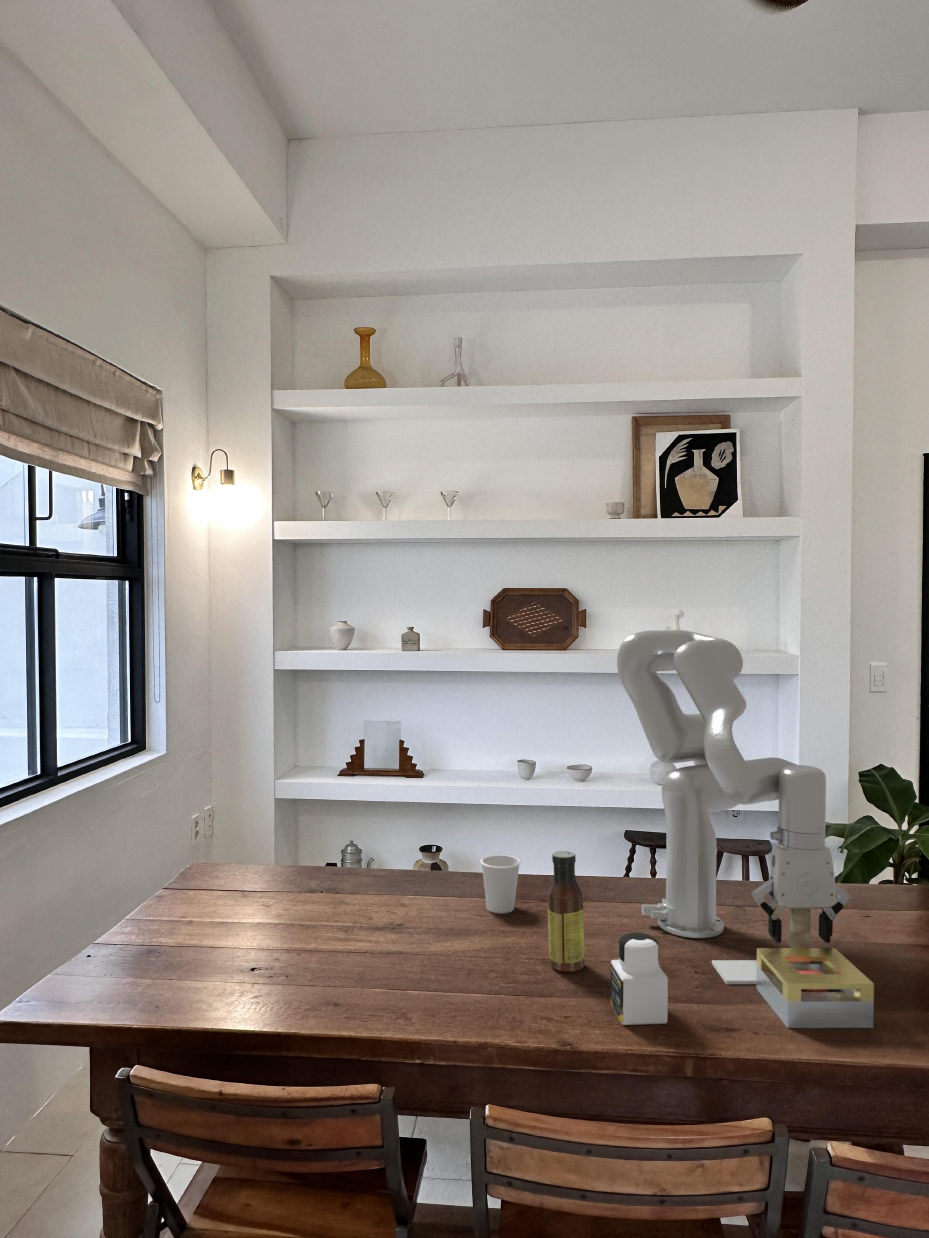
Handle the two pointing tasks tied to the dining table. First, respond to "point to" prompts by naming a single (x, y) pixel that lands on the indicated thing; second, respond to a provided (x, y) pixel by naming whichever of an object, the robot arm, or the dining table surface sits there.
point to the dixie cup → (500, 882)
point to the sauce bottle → (565, 916)
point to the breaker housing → (831, 1009)
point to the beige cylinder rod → (800, 930)
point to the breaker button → (811, 971)
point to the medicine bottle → (639, 981)
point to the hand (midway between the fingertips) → (800, 939)
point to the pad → (737, 971)
